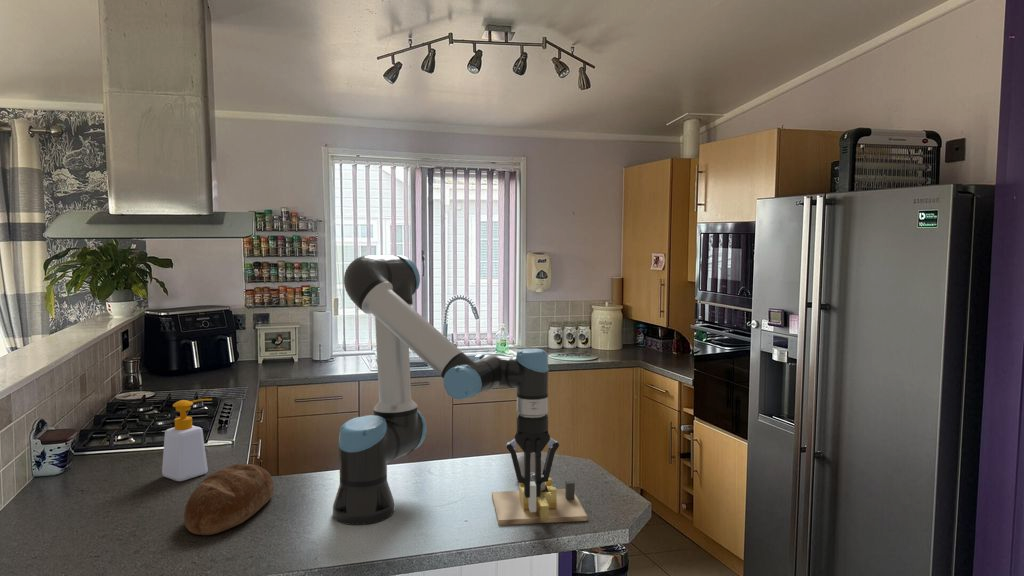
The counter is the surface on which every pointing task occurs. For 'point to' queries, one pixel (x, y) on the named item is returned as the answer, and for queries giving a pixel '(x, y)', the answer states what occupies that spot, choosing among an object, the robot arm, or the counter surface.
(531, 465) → the potion bottle
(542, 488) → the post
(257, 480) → the bread
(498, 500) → the oak board
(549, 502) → the handled square frame
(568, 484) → the block
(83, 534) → the counter surface
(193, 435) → the soap bottle
